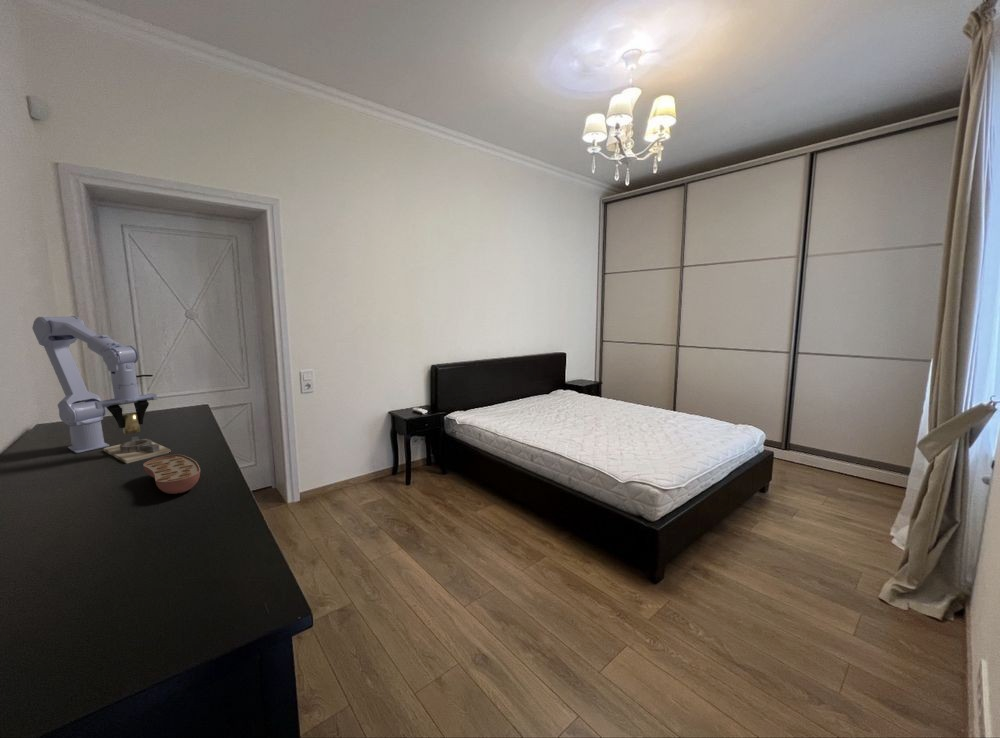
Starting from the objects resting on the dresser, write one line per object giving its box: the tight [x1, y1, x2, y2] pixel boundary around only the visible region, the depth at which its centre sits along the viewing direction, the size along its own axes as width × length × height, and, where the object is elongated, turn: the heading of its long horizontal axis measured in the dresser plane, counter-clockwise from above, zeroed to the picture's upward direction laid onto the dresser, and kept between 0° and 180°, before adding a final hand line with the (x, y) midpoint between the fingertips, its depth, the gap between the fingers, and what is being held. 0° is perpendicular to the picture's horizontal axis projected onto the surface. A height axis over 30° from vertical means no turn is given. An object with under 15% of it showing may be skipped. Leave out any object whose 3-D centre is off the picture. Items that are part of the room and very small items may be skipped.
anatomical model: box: [142, 454, 201, 495], centre depth 107 cm, size 23×10×5 cm, turn 51°
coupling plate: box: [103, 436, 171, 464], centre depth 130 cm, size 20×11×3 cm, turn 59°
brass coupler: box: [122, 411, 141, 435], centre depth 128 cm, size 4×4×6 cm
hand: (131, 425), depth 128 cm, fingers closed on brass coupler, 4 cm apart
